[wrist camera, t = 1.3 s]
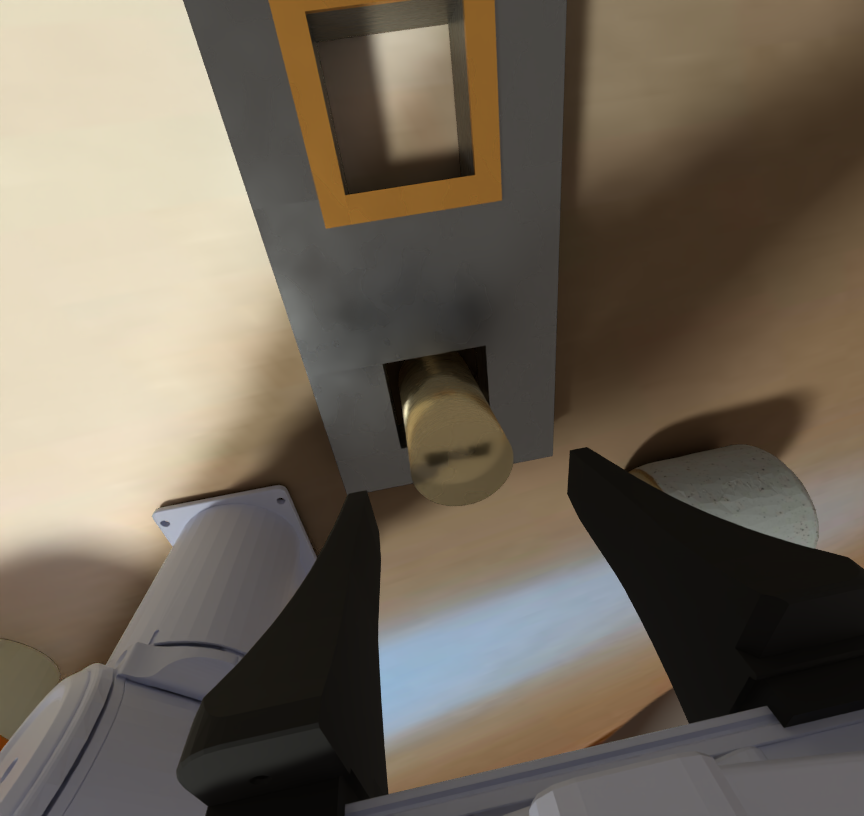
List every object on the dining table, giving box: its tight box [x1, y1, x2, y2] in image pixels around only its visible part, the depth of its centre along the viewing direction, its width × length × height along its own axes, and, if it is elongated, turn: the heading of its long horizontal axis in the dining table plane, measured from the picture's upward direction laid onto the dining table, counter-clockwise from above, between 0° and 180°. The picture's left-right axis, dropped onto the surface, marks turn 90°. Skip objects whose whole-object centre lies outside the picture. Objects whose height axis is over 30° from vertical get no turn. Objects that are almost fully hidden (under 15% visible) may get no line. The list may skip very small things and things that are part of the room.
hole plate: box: [183, 0, 567, 495], centre depth 17 cm, size 22×12×3 cm, turn 8°
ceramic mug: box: [629, 444, 819, 549], centre depth 25 cm, size 11×8×8 cm
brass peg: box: [398, 351, 513, 506], centre depth 18 cm, size 4×4×8 cm
